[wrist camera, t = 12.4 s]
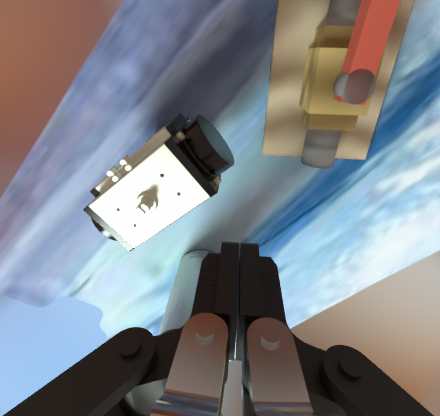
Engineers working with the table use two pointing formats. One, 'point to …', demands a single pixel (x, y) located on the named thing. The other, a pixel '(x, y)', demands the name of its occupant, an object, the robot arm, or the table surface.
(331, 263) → the table surface
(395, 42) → the valve fixture
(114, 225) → the ball valve
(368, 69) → the lever
